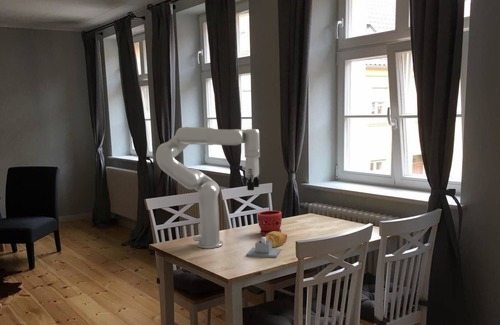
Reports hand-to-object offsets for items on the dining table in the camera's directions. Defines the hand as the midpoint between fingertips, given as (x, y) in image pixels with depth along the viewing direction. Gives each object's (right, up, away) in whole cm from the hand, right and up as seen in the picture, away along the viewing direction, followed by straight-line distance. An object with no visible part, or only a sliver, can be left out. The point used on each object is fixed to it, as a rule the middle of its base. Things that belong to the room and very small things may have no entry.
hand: (253, 188), depth 226 cm
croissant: (+10, -28, +2) cm, 30 cm away
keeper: (+5, -30, -13) cm, 33 cm away
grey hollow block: (+5, -29, -13) cm, 32 cm away
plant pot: (+9, -26, +22) cm, 36 cm away
